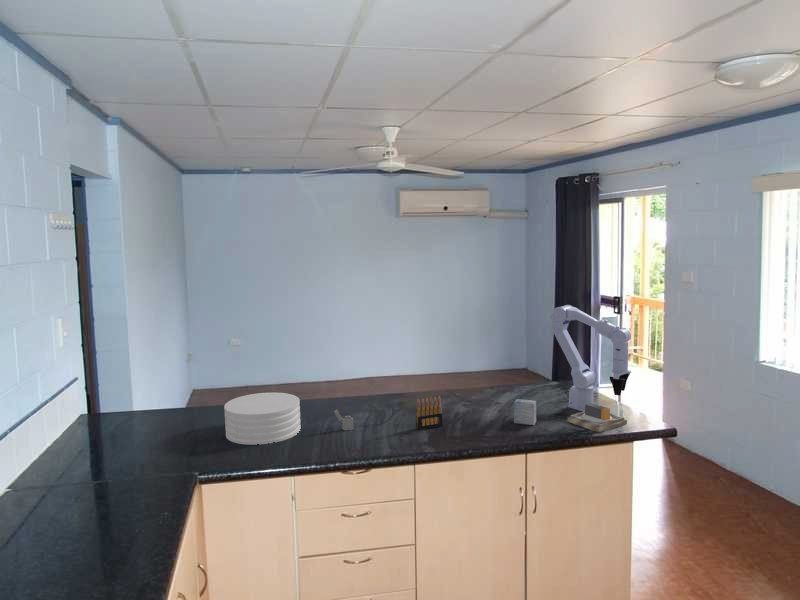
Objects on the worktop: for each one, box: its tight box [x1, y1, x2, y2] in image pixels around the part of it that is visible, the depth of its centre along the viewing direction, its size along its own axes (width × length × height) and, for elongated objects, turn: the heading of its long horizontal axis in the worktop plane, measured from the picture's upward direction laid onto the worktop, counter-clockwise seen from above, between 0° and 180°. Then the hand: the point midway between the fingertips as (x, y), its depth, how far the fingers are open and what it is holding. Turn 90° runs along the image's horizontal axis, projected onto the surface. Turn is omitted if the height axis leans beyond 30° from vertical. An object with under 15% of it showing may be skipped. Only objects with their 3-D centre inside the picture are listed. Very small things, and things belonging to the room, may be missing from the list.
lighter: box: [333, 409, 354, 431], centre depth 223 cm, size 7×2×8 cm, turn 100°
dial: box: [582, 403, 612, 424], centre depth 225 cm, size 11×11×5 cm
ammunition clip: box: [415, 395, 444, 431], centre depth 224 cm, size 11×2×12 cm, turn 112°
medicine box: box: [513, 398, 537, 426], centre depth 227 cm, size 8×4×9 cm, turn 65°
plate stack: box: [223, 392, 302, 446], centre depth 223 cm, size 28×28×12 cm
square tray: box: [567, 411, 628, 433], centre depth 225 cm, size 15×16×3 cm
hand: (619, 392), depth 232 cm, fingers open, 7 cm apart
